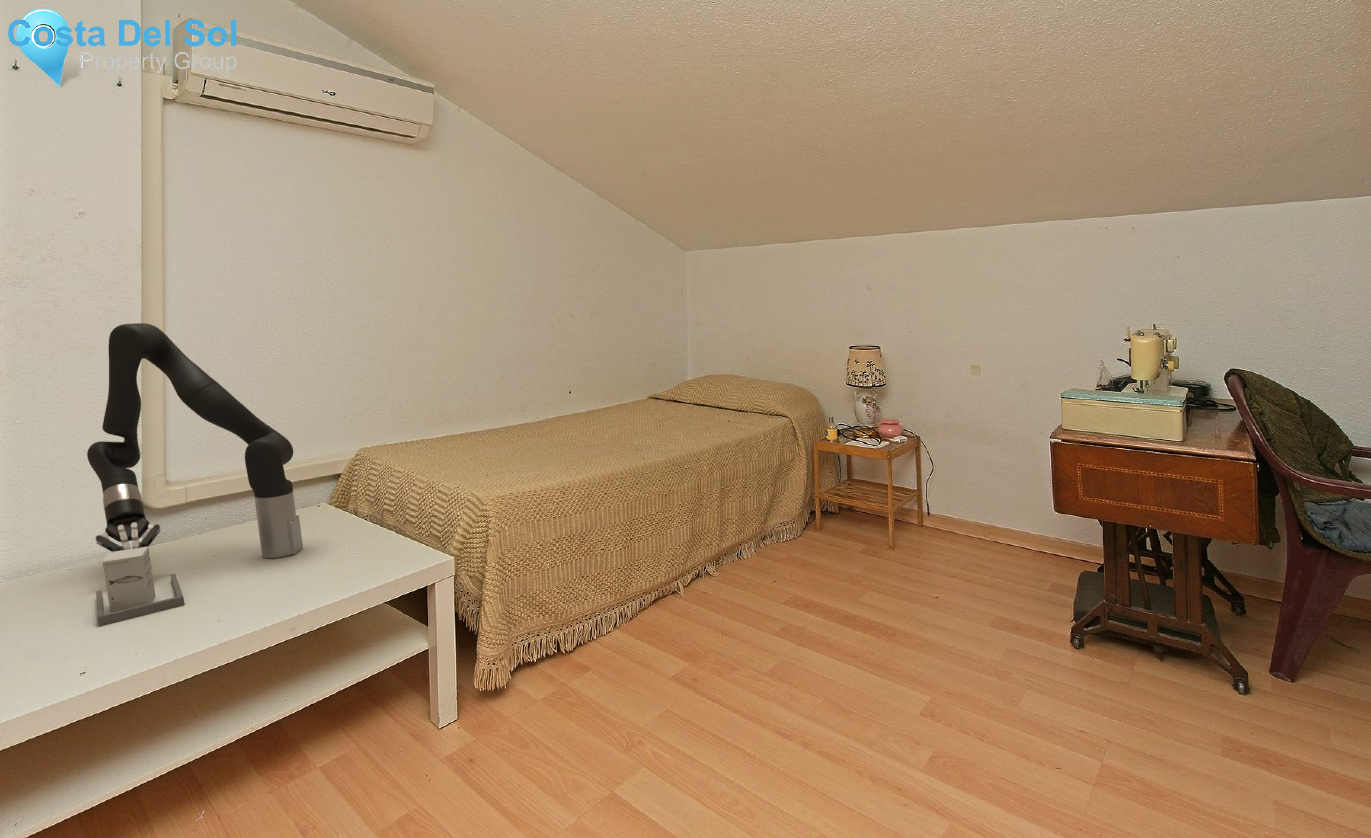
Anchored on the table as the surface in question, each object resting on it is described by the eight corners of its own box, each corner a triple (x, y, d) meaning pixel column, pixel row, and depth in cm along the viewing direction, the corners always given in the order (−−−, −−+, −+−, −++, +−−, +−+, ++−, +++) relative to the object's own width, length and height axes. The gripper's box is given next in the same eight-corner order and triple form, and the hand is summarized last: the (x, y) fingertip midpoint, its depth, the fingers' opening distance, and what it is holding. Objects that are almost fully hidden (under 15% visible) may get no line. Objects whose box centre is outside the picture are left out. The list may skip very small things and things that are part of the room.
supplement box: (109, 614, 148) (100, 561, 146) (117, 602, 154) (108, 551, 152) (151, 606, 151) (142, 554, 149) (157, 595, 158) (148, 545, 156)
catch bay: (97, 599, 156) (96, 591, 155) (176, 581, 166) (175, 573, 165) (98, 626, 142) (97, 617, 142) (184, 604, 152) (183, 596, 152)
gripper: (87, 503, 161) (96, 564, 154) (155, 492, 170) (167, 549, 163) (90, 519, 166) (100, 579, 159) (157, 508, 174) (168, 564, 168)
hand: (134, 564), depth 161 cm, fingers closed
